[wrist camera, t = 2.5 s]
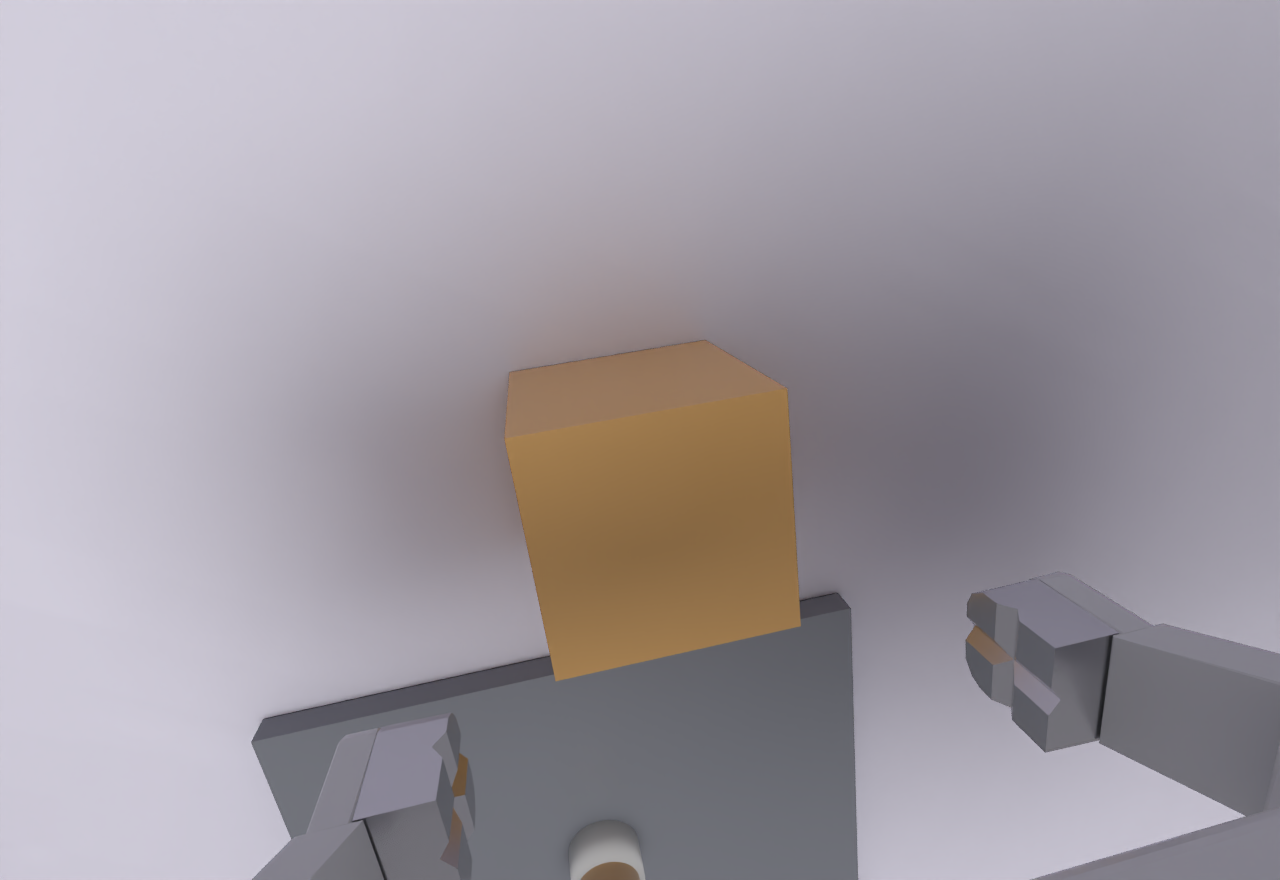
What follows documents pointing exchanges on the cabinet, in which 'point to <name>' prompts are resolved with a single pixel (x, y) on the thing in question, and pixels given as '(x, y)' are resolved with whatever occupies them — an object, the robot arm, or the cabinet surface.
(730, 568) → the wooden cube
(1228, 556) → the cabinet surface
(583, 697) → the plate
